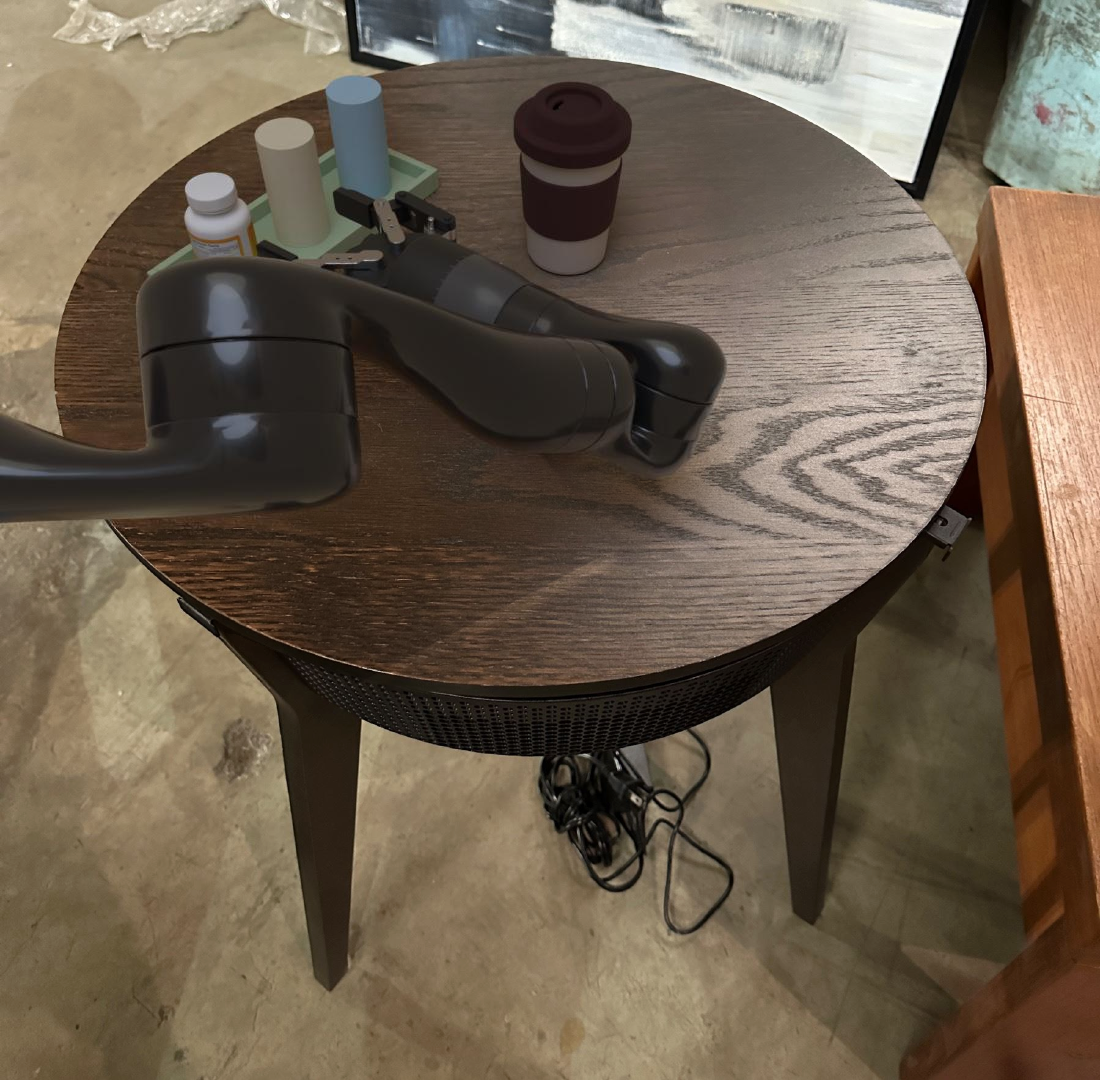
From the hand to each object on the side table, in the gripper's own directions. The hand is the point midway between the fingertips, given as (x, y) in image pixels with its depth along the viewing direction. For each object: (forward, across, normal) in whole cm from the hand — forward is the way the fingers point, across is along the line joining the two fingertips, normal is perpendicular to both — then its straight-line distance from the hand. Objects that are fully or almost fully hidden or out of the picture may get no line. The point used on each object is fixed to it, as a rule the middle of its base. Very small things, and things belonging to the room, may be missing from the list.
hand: (299, 224), depth 80 cm
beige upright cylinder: (+10, -9, +10) cm, 17 cm away
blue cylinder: (+10, -18, +10) cm, 23 cm away
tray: (+10, -9, +11) cm, 17 cm away
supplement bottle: (+10, 0, +10) cm, 14 cm away
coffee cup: (-11, -22, +11) cm, 27 cm away
